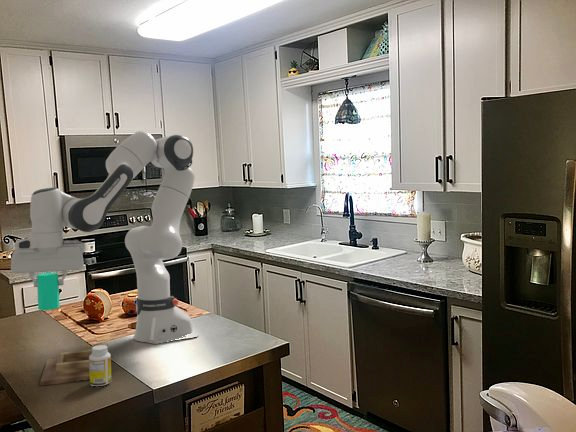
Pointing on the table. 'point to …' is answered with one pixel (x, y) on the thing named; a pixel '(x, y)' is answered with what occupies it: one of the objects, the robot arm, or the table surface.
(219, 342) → the table surface
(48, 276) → the candle
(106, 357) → the supplement bottle
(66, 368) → the candle holder
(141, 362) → the table surface
